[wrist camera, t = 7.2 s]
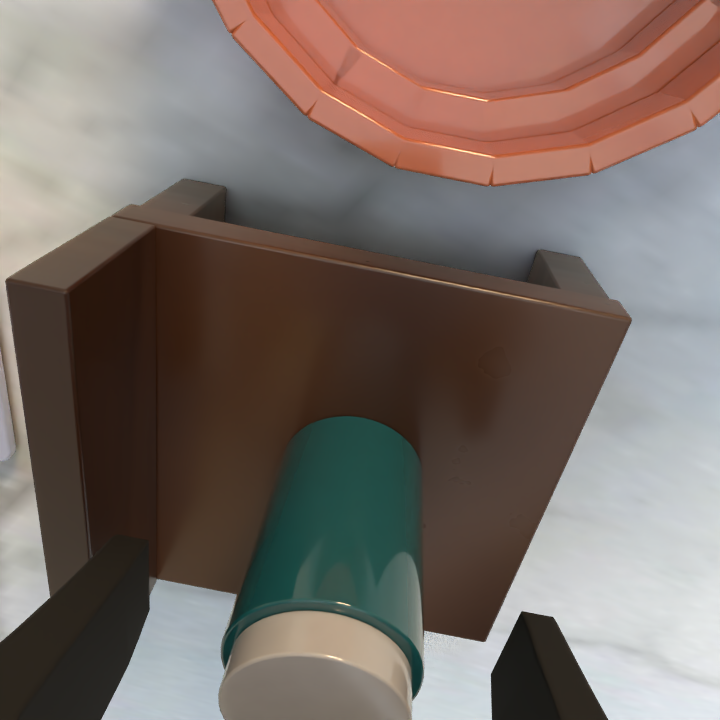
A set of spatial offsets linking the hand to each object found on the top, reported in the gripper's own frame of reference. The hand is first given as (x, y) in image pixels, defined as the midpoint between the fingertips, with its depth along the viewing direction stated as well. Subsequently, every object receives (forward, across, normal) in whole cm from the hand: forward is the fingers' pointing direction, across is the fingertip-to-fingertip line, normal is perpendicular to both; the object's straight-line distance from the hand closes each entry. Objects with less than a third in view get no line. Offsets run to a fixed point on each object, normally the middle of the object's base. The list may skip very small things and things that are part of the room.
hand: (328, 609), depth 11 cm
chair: (+8, 0, 0) cm, 8 cm away
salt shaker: (+4, 0, 0) cm, 4 cm away
